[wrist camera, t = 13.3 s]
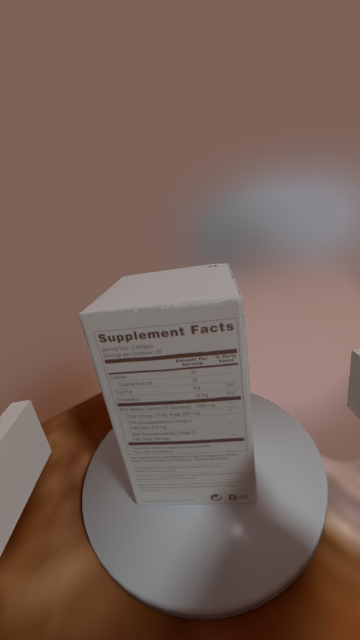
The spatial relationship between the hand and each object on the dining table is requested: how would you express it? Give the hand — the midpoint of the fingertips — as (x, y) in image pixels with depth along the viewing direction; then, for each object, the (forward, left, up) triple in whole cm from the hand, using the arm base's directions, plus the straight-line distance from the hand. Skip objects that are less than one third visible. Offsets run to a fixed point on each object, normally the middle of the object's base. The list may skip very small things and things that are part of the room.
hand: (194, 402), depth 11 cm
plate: (-2, +5, -10) cm, 11 cm away
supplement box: (-3, +4, -9) cm, 10 cm away
